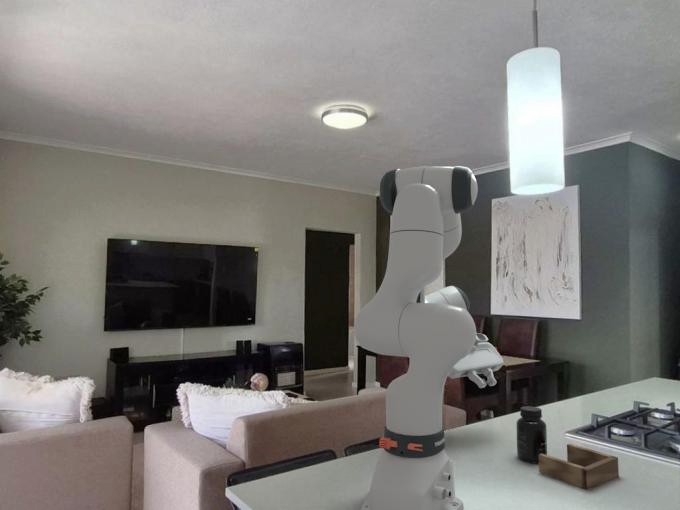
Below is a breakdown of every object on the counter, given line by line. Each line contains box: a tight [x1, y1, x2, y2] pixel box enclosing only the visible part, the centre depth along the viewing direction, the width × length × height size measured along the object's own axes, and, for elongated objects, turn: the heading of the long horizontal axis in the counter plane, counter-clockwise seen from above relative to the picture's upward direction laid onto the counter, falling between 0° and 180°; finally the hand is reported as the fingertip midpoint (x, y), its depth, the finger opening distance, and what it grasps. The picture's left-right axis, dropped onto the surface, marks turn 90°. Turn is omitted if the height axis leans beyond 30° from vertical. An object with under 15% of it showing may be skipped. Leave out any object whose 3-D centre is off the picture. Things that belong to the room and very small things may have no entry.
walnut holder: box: [538, 443, 620, 491], centre depth 109 cm, size 11×12×4 cm
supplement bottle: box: [516, 405, 548, 464], centre depth 119 cm, size 7×7×12 cm
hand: (488, 385), depth 129 cm, fingers open, 3 cm apart
